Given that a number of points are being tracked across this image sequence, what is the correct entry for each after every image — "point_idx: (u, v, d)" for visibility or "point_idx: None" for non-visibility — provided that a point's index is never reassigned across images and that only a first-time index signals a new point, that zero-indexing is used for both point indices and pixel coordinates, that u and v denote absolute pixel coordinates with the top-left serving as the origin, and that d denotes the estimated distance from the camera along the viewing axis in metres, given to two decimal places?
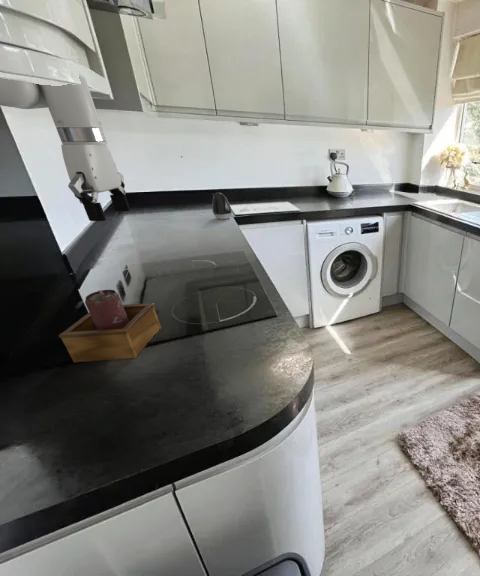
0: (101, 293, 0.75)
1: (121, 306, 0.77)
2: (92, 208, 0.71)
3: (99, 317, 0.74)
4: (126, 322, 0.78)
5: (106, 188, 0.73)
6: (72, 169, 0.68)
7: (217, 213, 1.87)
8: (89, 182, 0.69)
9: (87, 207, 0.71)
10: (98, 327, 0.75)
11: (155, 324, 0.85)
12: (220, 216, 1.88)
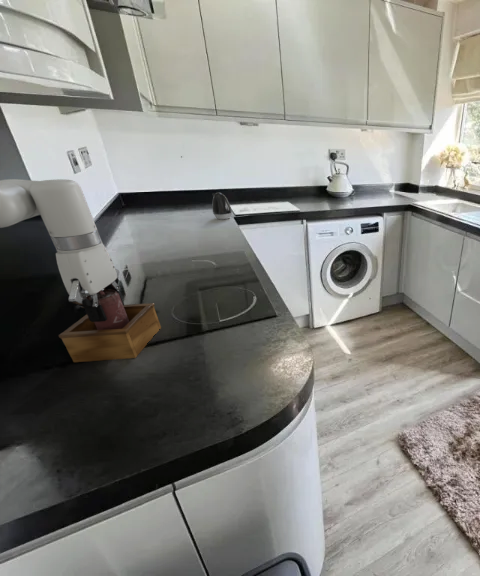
0: (101, 293, 0.76)
1: (121, 306, 0.77)
2: (93, 311, 0.72)
3: None
4: (126, 322, 0.78)
5: (102, 288, 0.72)
6: (67, 276, 0.67)
7: (217, 213, 1.87)
8: (84, 287, 0.68)
9: (88, 311, 0.71)
10: (98, 327, 0.75)
11: (155, 324, 0.85)
12: (220, 216, 1.88)
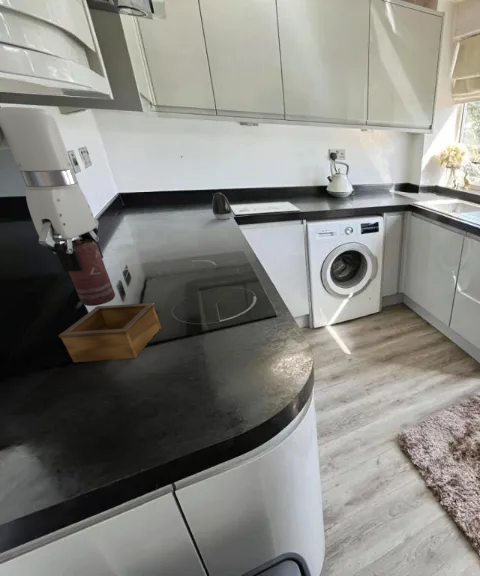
0: (78, 242, 0.70)
1: (99, 257, 0.71)
2: (67, 259, 0.66)
3: None
4: (105, 275, 0.73)
5: (77, 234, 0.67)
6: (37, 216, 0.61)
7: (217, 213, 1.87)
8: (57, 230, 0.63)
9: (61, 258, 0.66)
10: (73, 278, 0.69)
11: (155, 324, 0.85)
12: (220, 216, 1.88)
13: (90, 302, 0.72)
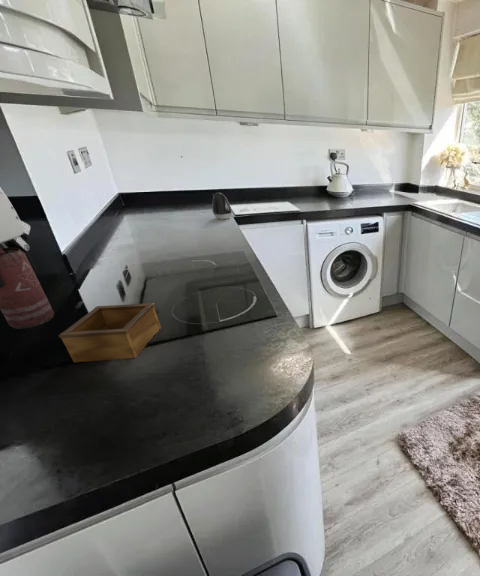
0: (0, 251, 0.57)
1: (29, 269, 0.58)
2: None
3: None
4: (37, 291, 0.60)
5: None
6: None
7: (217, 213, 1.87)
8: None
9: None
10: None
11: (155, 324, 0.85)
12: (220, 216, 1.88)
13: (19, 324, 0.59)
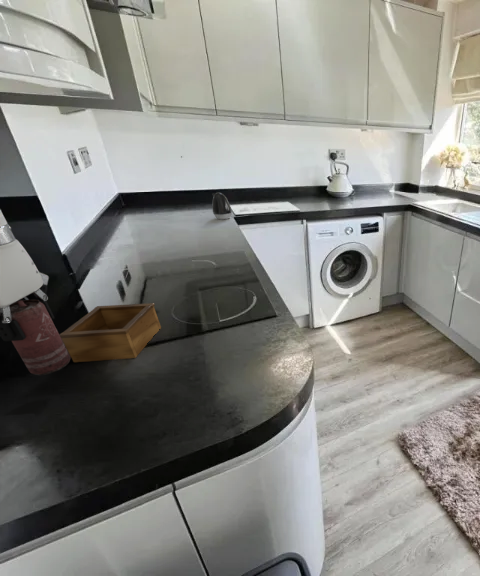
0: (21, 304, 0.60)
1: (48, 320, 0.62)
2: (5, 328, 0.56)
3: None
4: (55, 340, 0.63)
5: (16, 298, 0.57)
6: None
7: (217, 213, 1.87)
8: None
9: None
10: (16, 347, 0.60)
11: (155, 324, 0.85)
12: (220, 216, 1.88)
13: (39, 371, 0.62)
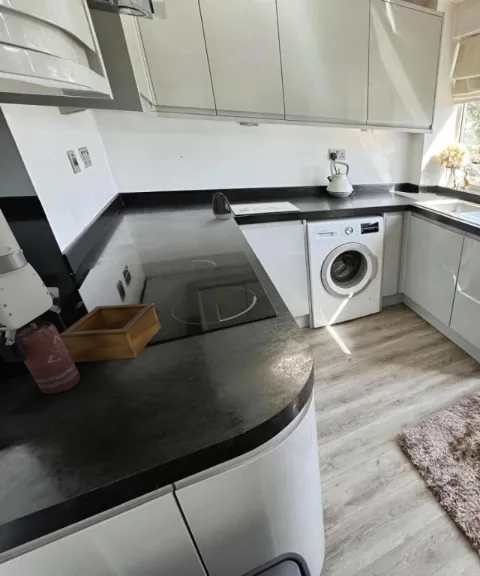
0: (33, 327, 0.62)
1: (59, 342, 0.64)
2: (7, 350, 0.57)
3: (28, 357, 0.61)
4: (66, 360, 0.65)
5: (28, 320, 0.59)
6: None
7: (217, 213, 1.87)
8: (1, 322, 0.55)
9: (1, 350, 0.57)
10: (29, 368, 0.62)
11: (155, 324, 0.85)
12: (220, 216, 1.88)
13: (51, 391, 0.65)
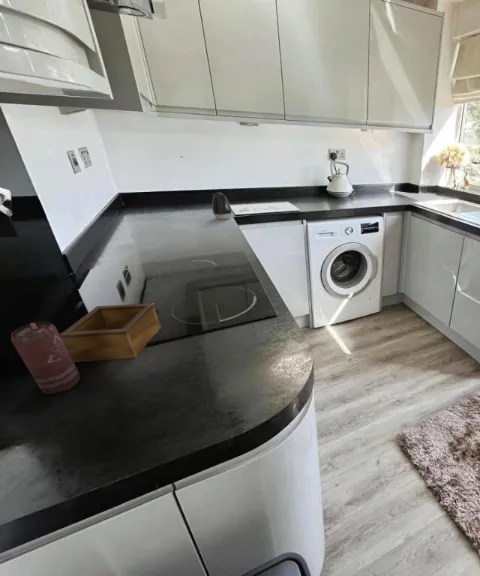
0: (33, 327, 0.62)
1: (59, 342, 0.64)
2: None
3: (28, 357, 0.61)
4: (66, 360, 0.65)
5: None
6: None
7: (217, 213, 1.87)
8: None
9: None
10: (29, 368, 0.62)
11: (155, 324, 0.85)
12: (220, 216, 1.88)
13: (51, 391, 0.65)
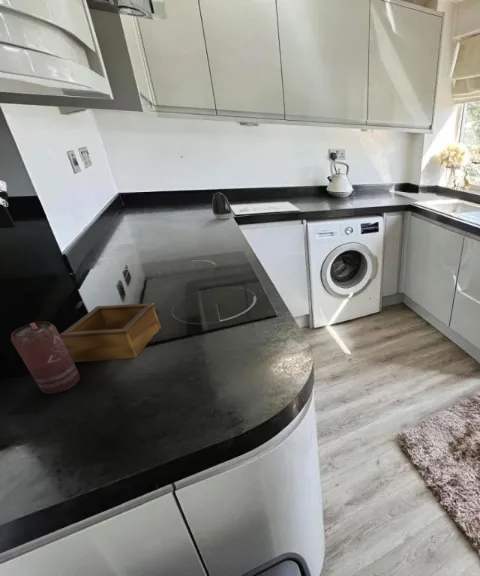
0: (33, 327, 0.62)
1: (59, 342, 0.64)
2: None
3: (28, 357, 0.61)
4: (66, 360, 0.65)
5: None
6: None
7: (217, 213, 1.87)
8: None
9: None
10: (29, 368, 0.62)
11: (155, 324, 0.85)
12: (220, 216, 1.88)
13: (51, 391, 0.65)
